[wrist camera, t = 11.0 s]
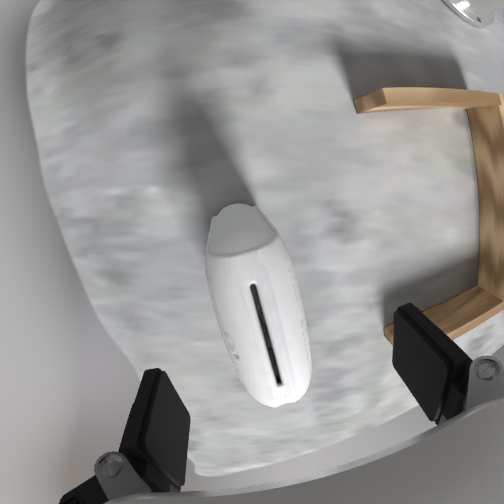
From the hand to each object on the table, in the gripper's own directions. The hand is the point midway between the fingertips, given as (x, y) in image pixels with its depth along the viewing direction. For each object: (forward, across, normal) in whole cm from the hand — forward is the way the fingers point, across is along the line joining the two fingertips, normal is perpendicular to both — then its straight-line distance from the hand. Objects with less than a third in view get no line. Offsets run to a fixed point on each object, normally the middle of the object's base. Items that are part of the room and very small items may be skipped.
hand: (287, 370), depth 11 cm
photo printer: (+14, +1, +1) cm, 14 cm away
